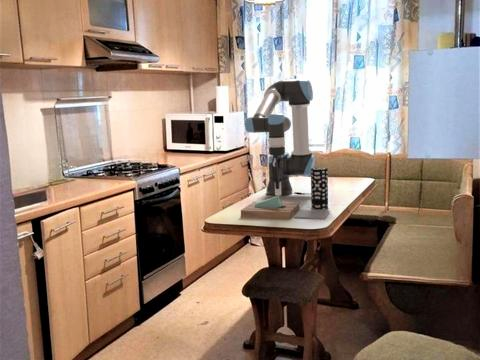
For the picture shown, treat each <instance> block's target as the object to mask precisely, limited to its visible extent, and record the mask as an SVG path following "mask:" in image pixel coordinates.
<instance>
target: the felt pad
mask: <svg viewBox="0 0 480 360" xmlns="http://www.w3.org/2000/svg"><path fill="white" fill-rule="evenodd" d="M329 212H330V210H307V209H301V210H299V211H298V212H297V213H296V214H295V215H294V219H304V218H305V219H308V220H309V219H310V220H325V219H326V218H327V217H328V215H329V214H330V213H331V212H330V213H329Z"/></svg>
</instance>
